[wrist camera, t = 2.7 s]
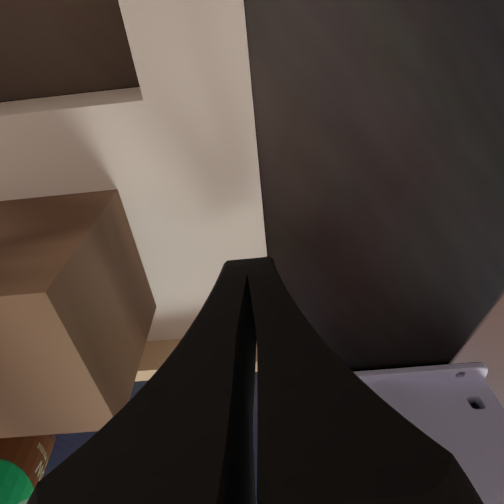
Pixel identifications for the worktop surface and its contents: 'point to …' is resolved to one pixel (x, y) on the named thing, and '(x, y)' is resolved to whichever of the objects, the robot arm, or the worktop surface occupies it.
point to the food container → (22, 466)
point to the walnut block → (69, 313)
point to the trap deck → (158, 154)
